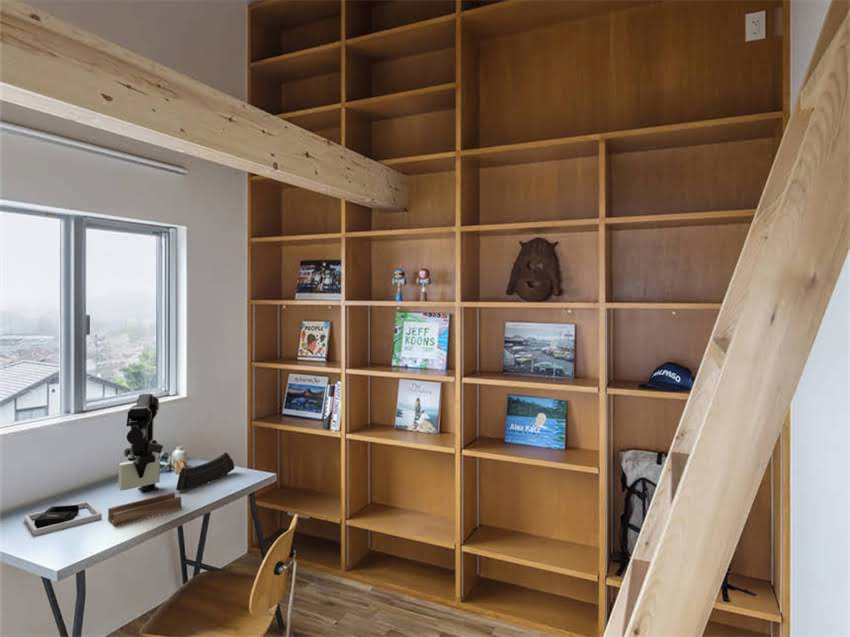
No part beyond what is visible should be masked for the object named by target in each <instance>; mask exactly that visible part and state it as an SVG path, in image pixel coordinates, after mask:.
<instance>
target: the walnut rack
mask: <svg viewBox="0 0 850 637" xmlns="http://www.w3.org/2000/svg"><path fill="white" fill-rule="evenodd" d="M178 509H179V510H182V509H183V507H182V497H181V496H177V497H176V493H175V492H170V493H166V494H161V495H157V496H152V497H149V498H145V499H141V500H137V501H134V502H133V501H132V502H130V503H125V504H121V505H116V506H113V507H109V508H108V509H107V513H108V514H107V516H108V517H107V520H108V521H109V522H110V524H112V526H113V527H115V526H117V527H120V526H123V524H124V525H127V524H126V523H128V524H131V523H134V522H133V521H135V522H138V521H137V520H139V521H141V520H140V519H142V520H146V519H149V518H148V517H150V518H153V517H152V516H154V517H157V516H160V515H159V514H161V515H164V514H163V513H165V514H168V513H171V511H172V512H175V511H174V510H176V511H179V510H178ZM167 512H168V513H167ZM156 515H157V516H156ZM145 518H146V519H145ZM130 522H131V523H130ZM119 525H120V526H119Z"/></svg>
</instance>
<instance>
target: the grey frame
mask: <svg viewBox="0 0 850 637" xmlns="http://www.w3.org/2000/svg"><path fill="white" fill-rule="evenodd" d="M72 505H78V506H79V508H81V509H83V508H82V507H85V508H87V507H88V508H89V509H90V510H91V511H92V512H91V511H90V510H89V509H88V508H87V509H88V510H89V511H90V512H91V513H92V514H91V515H87V516H83V517H80V518H74V519H72V520H70V521H66V522H62V523H58V524H54V525H50V526H46V527H42V528H38V529H37V528H36V527H35V525H34V522H33V520H32V519H36V518H38V517H39V516H40V515H41V514H43V513H44V512H45V511H46V510H43V511H40V512H35V513H34V512H33V513H30V514H25V515H24V522H25V523H27V524H26V525H27V528H28V529H29V528H30V529H29V530H30V532H31V531H32V532H31V533H32V535H33V536H34V537H36V535H37V536H40V535H44V534H47V532H48V533H51V531H52V532H55V531H60V530H63V528H64V529H67V527H68V528H70V527H71V526H72V527H75V525H76V526H79V524H80V525H83V524H86V522H87V523H91V522H94V521H93V520H95V521H98V519H99V520H102V516H103V514H102V512H101V511H100V510H99V509H98V508H96V507H95V505H94V504H92V502H90V500H87V501H83V502H78V503H73V504H72ZM86 506H87V507H86ZM90 521H91V522H90ZM43 533H44V534H43Z"/></svg>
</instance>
